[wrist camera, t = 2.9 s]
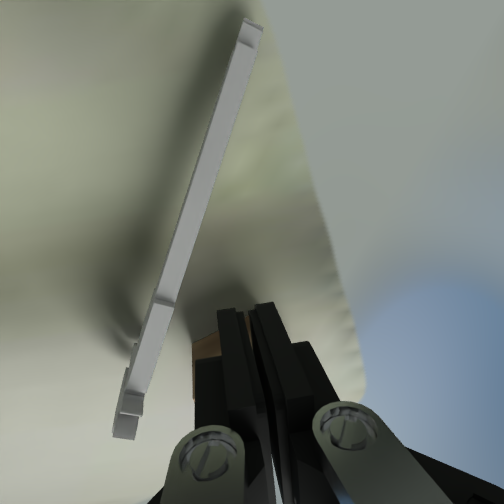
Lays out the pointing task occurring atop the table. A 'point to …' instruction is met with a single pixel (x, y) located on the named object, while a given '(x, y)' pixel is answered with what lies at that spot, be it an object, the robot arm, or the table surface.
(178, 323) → the table surface
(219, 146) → the caliper
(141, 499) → the table surface
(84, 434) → the table surface
